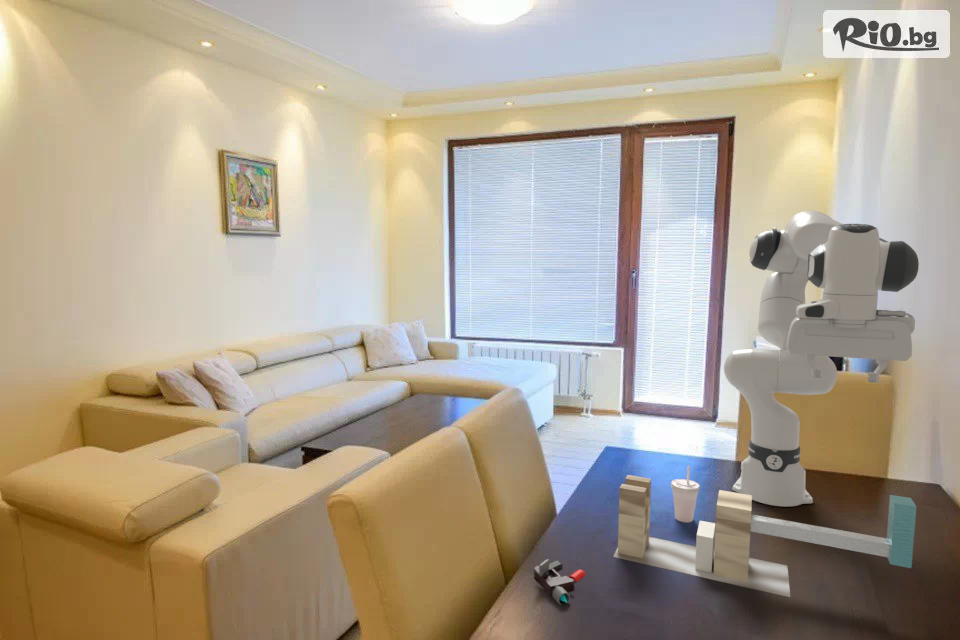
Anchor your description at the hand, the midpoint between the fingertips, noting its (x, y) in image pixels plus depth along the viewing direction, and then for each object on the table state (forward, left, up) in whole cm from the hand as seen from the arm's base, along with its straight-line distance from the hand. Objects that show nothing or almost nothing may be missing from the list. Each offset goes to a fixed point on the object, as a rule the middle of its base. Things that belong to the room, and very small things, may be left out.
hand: (843, 379), depth 109 cm
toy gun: (+30, -46, -39) cm, 67 cm away
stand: (+11, -24, -39) cm, 47 cm away
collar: (+11, -23, -38) cm, 45 cm away
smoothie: (-8, -29, -39) cm, 49 cm away
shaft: (+11, -4, -29) cm, 32 cm away
